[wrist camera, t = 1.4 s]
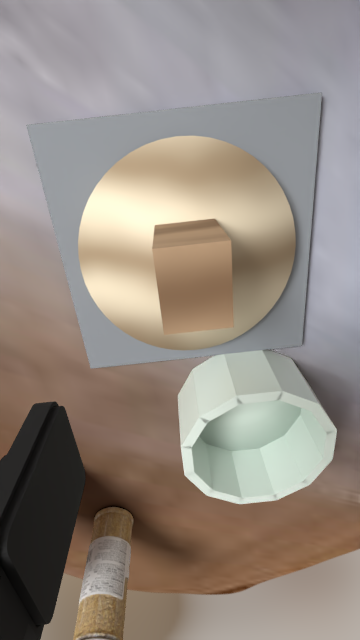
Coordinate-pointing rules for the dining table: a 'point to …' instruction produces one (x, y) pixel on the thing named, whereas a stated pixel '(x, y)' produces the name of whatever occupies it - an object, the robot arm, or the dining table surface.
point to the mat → (145, 127)
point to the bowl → (252, 428)
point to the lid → (186, 243)
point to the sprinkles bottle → (106, 577)
